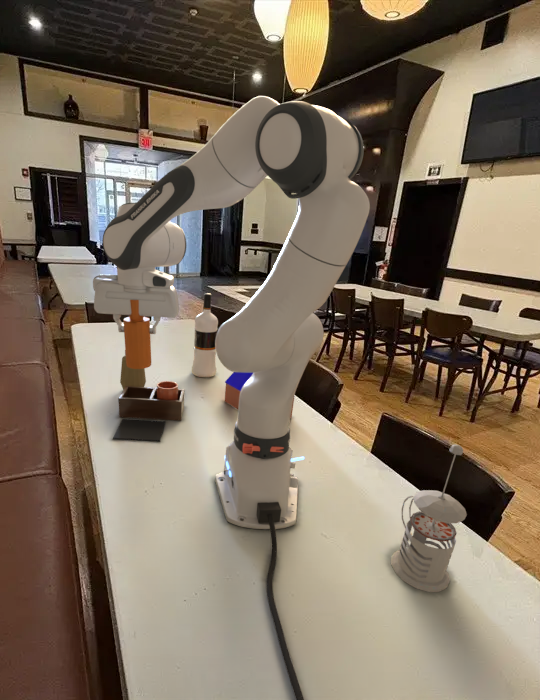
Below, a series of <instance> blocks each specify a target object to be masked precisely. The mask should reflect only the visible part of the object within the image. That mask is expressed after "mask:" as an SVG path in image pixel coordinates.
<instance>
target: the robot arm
mask: <svg viewBox="0 0 540 700" xmlns="http://www.w3.org/2000/svg"><path fill="white" fill-rule="evenodd" d="M364 147H365V146H364V140H363V138H362V134H361V133H360V131H359V130H358V128H357V127H356V126H355V124H353V122H351V121H350V120H348V119H346V118H345V117H341V116H339V115H337V114H336V113H335V112H334V111H333V110H331V109H329V108H326V107H324V106H320V105H315V104H311V103H309V102H306V101H302V100H291V101H286V102H283V103H279V102H278V101H277V100H275V99H273V98H271V97H269V96H266V95H258V96H256V97H253V98H251V99H250V100H248V102H246V103H245V104H243V105H242V106H241V107H240V108H239V109H238V110H236V111H235V112H234V113H233V114H232V115H231V116H230V117H229V118H228V119H227V120H226V121H225V122H224V123H223V124H222V125H221V126H220V127H219V128H218V130H217V131H216V132H215V133H214V135H213V136H212V137H211V138H210V139H209V140H208V141H207V142H206V143H205V144H204V146H202V147H201V148H200V149H199V150H198V151H196V153H195V154H193V155H192V156H191V157H189V159H187V160H186V161H184V162H182V163H181V164H180V165H178V166H176V167H175V168H173V169H171V170H170V171H169V172H167V173H166V174H165V175H164V176H162V177H161V178H160V179H159V180H158V181H157V182H155V184H154V185H153V186H152V187H151V188H150V189H149V190H147V192H146V193H144V195H143V196H141V198H139V199H138V201H136V202H126V203H122V204H121V205H119V207H118V209H117V213H116V217H113V218H112V219H111V220H110V221H109V223H108V224H107V226H106V227H105V229H104V232H103V235H102V247H103V252H104V254H105V255H106V257H107V258H108V259H109V261H110V262H111V263H112V264H113V265H114V266H115V267H116V274H105V273H99V274H98V275H95V276H94V277H93V279H92V289H93V291H94V296H93V297H94V298H93V309H94V311H95V312H96V313H97V314H105V315H112V318H113V320H114V322H115V324H116V325H117V328H118V333H124V323H123V322H122V320H121V317H122V316H129V315H131V304H130V300H139V315H140V316H143V317H153V322H154V324H153V325H150V327H149V330H150V331H149V333H150V335H156V333H157V327H158V324H160V322H161V319H162V318H167V319H170V318H171V319H175V318H176V317H177V316H178V315H179V312H180V307H179V305H180V304H179V296H178V295H179V294H178V291H177V289H176V288H175V287H174V284H175V277H174V276H173V275H171V274H168V273H166V272H164V271H161V270H158V269H156V268H161V267H162V268H163V267H164V268H165V267H172V266H176V265H179V264H180V263H182V261H183V259H184V257H185V255H186V253H187V238H186V234H185V232H184V230H183V228H182V227H181V226H180V225H179V224H178V223H175V222H172V221H171V220H173V219H174V218H176V217H178V216H181V215H183V214H186V213H191V212H195V211H203V210H213V209H215V210H216V209H226V208H230V207H232V206H234V205H235V204H238V203H239V202H240V201H242V200H243V199H245V198H246V197H248V196H249V195H250V194H251V193H252V192H253V191H254V190H255V189H256V188H257V187H258V186H259V185H260V184H261V183H262V182H263V181H264V180H265V179H266V178H267V177H268V178H269V179H270V180H272V181H273V182H274V183H275V184H276V185H277V186H278V187H279V189H281V191H282V192H283V193H284V195H285V196H286V197H287V198H288V199H293V200H294V199H297V200H298V211H297V214H296V217H295V219H294V222H293V223H292V226H291V229H290V230H289V232H288V235H287V237H286V239H285V241H284V243H283V245H282V248H281V250H280V252H279V254H278V256H277V258H276V261H275V262H274V265H273V267H272V269H271V271H270V272H269V274H268V276H267V277H266V279H265V280H264V282H263V284H262V285H260V287H259V288H258V290H257V291H256V292H255V293H254V295H253V296H252V297H251V298H250V299H249V301H248V302H246V304H245V305H244V306H243V307H242V308H241V309H240V310H239V311H238V312H237V313H236V314H235V315H233V316H232V317H231V318H229V319H227V320H226V321H225V322H223V323H222V324H220V326H219V327H218V329H217V335H216V339H215V348H216V355H217V358H218V360H219V361H220V363H221V364H222V365H223V367H224V368H226V369H227V370H228V371H230V372H232V373H233V372H241V373H253V374H252V376H251V377H250V378H249V380H248V381H247V382H246V383H245V384H244V385H243V387H242V389H241V391H240V396H239V407H238V409H237V420H236V421H235V424H234V429H233V441H232V442H231V443H230V444H228V445H227V446H226V448H225V455H224V456H223V458H224V466H223V471H221V472H219V473H217V474H215V477H214V482H215V485H216V490H217V492H218V495H219V499H220V502H221V506H222V509H223V512H224V516H225V519H226V521H227V522H229V523H230V524H232V525H235V526H238V527H242V528H247V529H255V530H269V531H270V543H271V544H270V545H271V553H270V560H269V561H270V562H269V567H268V570H267V574H266V596H267V603H268V606H269V610H270V613H271V614H270V615H271V618H272V621H273V625H274V629H275V631H276V632H275V633H276V636H277V640H278V643H279V648H280V652H281V655H282V658H283V661H284V665H285V668H286V672H287V675H288V677H289V681H290V685H291V687H292V691H293V694H294V698H295V700H305V698H304V695H303V692H302V689H301V686H300V683H299V680H298V677H297V673H296V670H295V668H294V664H293V661H292V658H291V655H290V651H289V648H288V645H287V641H286V638H285V637H286V636H285V633H284V630H283V626H282V623H281V620H280V616H279V613H278V609H277V606H276V602H275V601H276V600H275V597H274V589H273V588H274V586H273V581H274V574H275V568H276V564H277V557H278V541H277V540H278V539H277V532H276V531H277V530H279V529H280V530H281V529H285V528H289V527H292V526H295V525H296V524H297V518H298V497H299V495H298V494H299V477H297V476H295V475H294V473H291V469H292V470H293V469H296V462H298V461H304V460H305V456H299V457H293V452H294V449H292V447H290V442H291V427H290V423H291V418H290V416H291V410H292V404H293V405H294V403H293V399H294V400H295V397H294V396H295V395H296V393H297V392H296V391H297V388H298V387H299V384H300V381H301V379H302V377H303V374H304V372H305V370H306V368H307V366H308V364H309V362H310V360H311V358H312V357H313V356H314V354H315V353H316V352H317V351H318V350H319V349H320V347H321V346H322V344H323V341H324V335H325V332H324V326H323V324H322V321H321V319H320V318H319V316H317V314H315V312H316V311H317V310H319V309H320V308H321V307H322V306H323V305H324V304H325V303H326V302H327V300H328V298H329V296H330V295H331V293H332V291H333V289H334V288H335V286H336V284H337V282H338V280H340V277H341V275H342V274H343V272H344V270H345V269H346V266H347V264H348V263H349V261H350V259H351V257H352V256H353V253H354V252H355V249H356V247H357V245H358V243H359V240H360V238H361V236H362V233H363V230H364V229H365V226H366V222H367V220H368V218H369V217H368V216H369V214H370V209H371V205H370V203H371V202H370V199H369V197H368V195H367V193H366V192H365V191H364V189H363V188H362V187H361V186H360V185H359V184H358V183H356V182H355V181H352V179H353V178H354V177H355V175H357V172H358V171H359V169H360V168H361V165H362V162H363V158H364V154H365V153H364V151H365V149H364Z"/></svg>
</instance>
